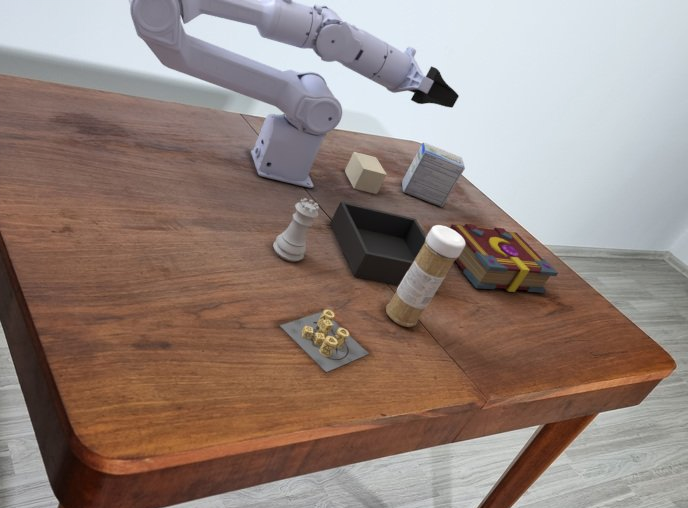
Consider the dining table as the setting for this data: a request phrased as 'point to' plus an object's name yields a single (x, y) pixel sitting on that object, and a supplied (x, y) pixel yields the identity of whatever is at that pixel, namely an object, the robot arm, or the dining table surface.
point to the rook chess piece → (296, 232)
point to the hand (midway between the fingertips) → (441, 95)
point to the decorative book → (501, 260)
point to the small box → (365, 173)
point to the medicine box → (433, 174)
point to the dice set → (324, 340)
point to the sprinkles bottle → (425, 275)
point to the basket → (377, 242)
